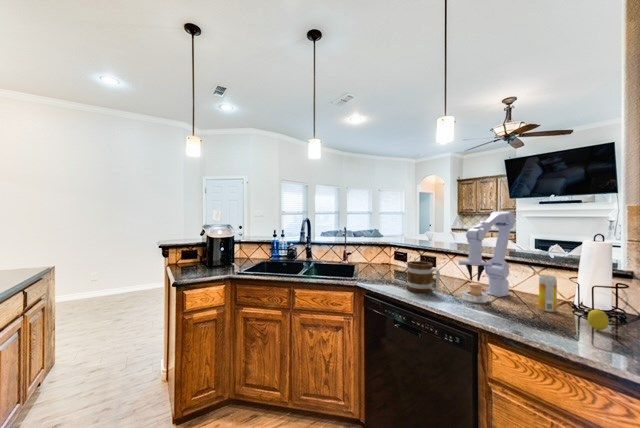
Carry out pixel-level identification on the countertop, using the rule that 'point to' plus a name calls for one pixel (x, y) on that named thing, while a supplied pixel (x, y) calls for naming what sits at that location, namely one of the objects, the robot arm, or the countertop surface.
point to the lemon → (598, 319)
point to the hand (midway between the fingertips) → (474, 280)
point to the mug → (421, 277)
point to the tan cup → (475, 288)
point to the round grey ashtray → (474, 297)
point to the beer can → (547, 293)
